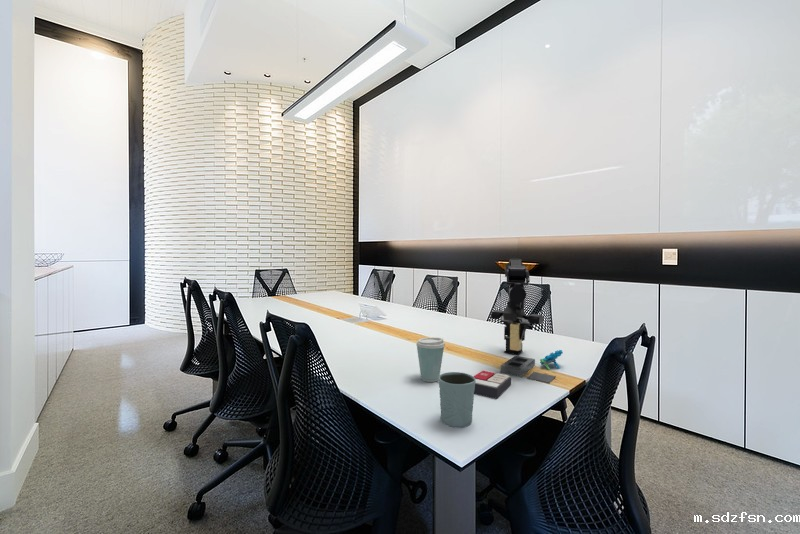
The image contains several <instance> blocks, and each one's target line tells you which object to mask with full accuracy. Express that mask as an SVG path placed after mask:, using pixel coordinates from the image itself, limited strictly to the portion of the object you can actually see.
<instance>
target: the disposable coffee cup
mask: <svg viewBox="0 0 800 534" xmlns="http://www.w3.org/2000/svg"><path fill="white" fill-rule="evenodd" d="M445 344H446V343H445V341H444V338H443V337H435V336H434V337H433V336H432V337H431V336H430V337H423V338H419V339H418V340H417V341H416V348H417V357H418V364H419V365H418V366H419V372H420V378H421V380H422V381H423V382H427V383H433V382H437V381H438V382H439V376H440V375H441V368H442V363H443V355H444V348H445V346H446V345H445Z"/></svg>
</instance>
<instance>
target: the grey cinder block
mask: <svg viewBox="0 0 800 534" xmlns="http://www.w3.org/2000/svg"><path fill="white" fill-rule="evenodd" d="M534 366H535V367H536V359H535V358H531V357H525V356H521V355H520V356H519V355H514V356H513V357H511V358H510V359H508V360H506V361H504V362H503V363H502V364H500V374H503V375H508V376H512V377H517V378H523V377H524V376H525V375H526V374H527V373H528V371H529V370H530V371H531V370H532V369H534V368H535V367H534ZM530 371H529V372H530Z"/></svg>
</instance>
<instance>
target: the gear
mask: <svg viewBox="0 0 800 534" xmlns="http://www.w3.org/2000/svg"><path fill="white" fill-rule="evenodd" d="M562 354H563V350H562V349H559V350H555V351H554V352H550V353H549V355H548V354H547V355H545V356H544V358H540V359H539V363H540V364H541V365H543V366H545V367H546V368H547V370H548V371H550V369H551V368H550V367H549V364H552V363H553V364H554V365H555V367H556V369H557V370H559V369H561V367H560V365H559V364H558V363H557V359H558V357H561V356H562Z"/></svg>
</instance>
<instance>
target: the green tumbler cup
mask: <svg viewBox="0 0 800 534" xmlns="http://www.w3.org/2000/svg"><path fill="white" fill-rule="evenodd" d="M473 376H474V375H472V374H469V373H466V372H459V371H449V372H443V373H440V376H439V379H438V388H439V389H438V390H439V398H440V400H439V401H440V402H439V404H440V419H441V422H442V423H443V425H446V426H448V427H450V428H457V429H459V428H460V429H462V428H466V427H469V426H470V425H471V424H472V422H473V411H474V400H475V399H474V398H475V394H474V390H475V382H476V379H475V378H474V377H473Z"/></svg>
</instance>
